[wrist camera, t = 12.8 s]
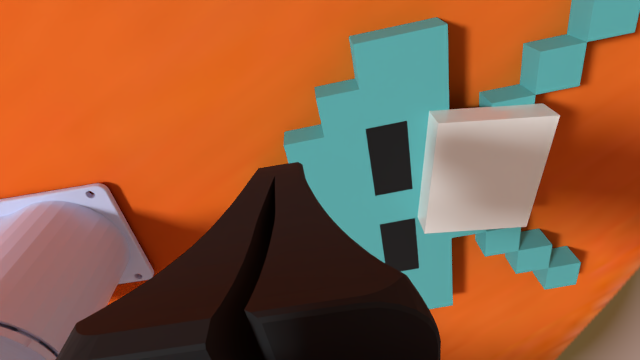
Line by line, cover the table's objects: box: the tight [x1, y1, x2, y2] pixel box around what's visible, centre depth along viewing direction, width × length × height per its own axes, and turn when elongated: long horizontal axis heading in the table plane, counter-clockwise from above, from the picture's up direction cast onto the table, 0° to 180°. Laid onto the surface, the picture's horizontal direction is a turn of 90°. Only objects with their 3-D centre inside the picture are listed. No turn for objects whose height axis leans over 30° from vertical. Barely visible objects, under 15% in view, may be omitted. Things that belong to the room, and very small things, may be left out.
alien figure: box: [284, 0, 640, 309], centre depth 24 cm, size 20×2×20 cm
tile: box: [418, 103, 560, 234], centre depth 22 cm, size 2×7×6 cm
